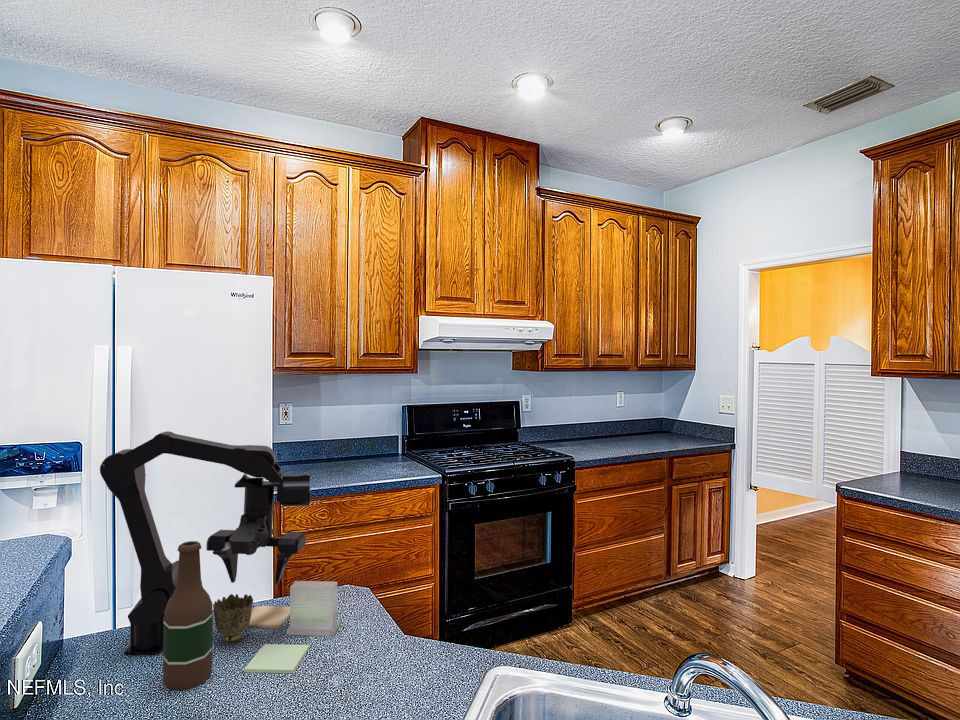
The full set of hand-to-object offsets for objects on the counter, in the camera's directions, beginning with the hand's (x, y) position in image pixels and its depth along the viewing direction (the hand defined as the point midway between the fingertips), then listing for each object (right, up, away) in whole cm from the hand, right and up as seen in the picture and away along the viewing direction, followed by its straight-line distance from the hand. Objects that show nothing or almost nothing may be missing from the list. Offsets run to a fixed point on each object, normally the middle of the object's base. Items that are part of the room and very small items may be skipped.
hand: (255, 582), depth 114 cm
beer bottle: (-5, -10, -17) cm, 20 cm away
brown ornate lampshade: (-3, -11, -3) cm, 12 cm away
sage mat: (+8, -10, -10) cm, 17 cm away
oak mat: (0, -11, +7) cm, 13 cm away
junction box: (+12, -11, +2) cm, 16 cm away
